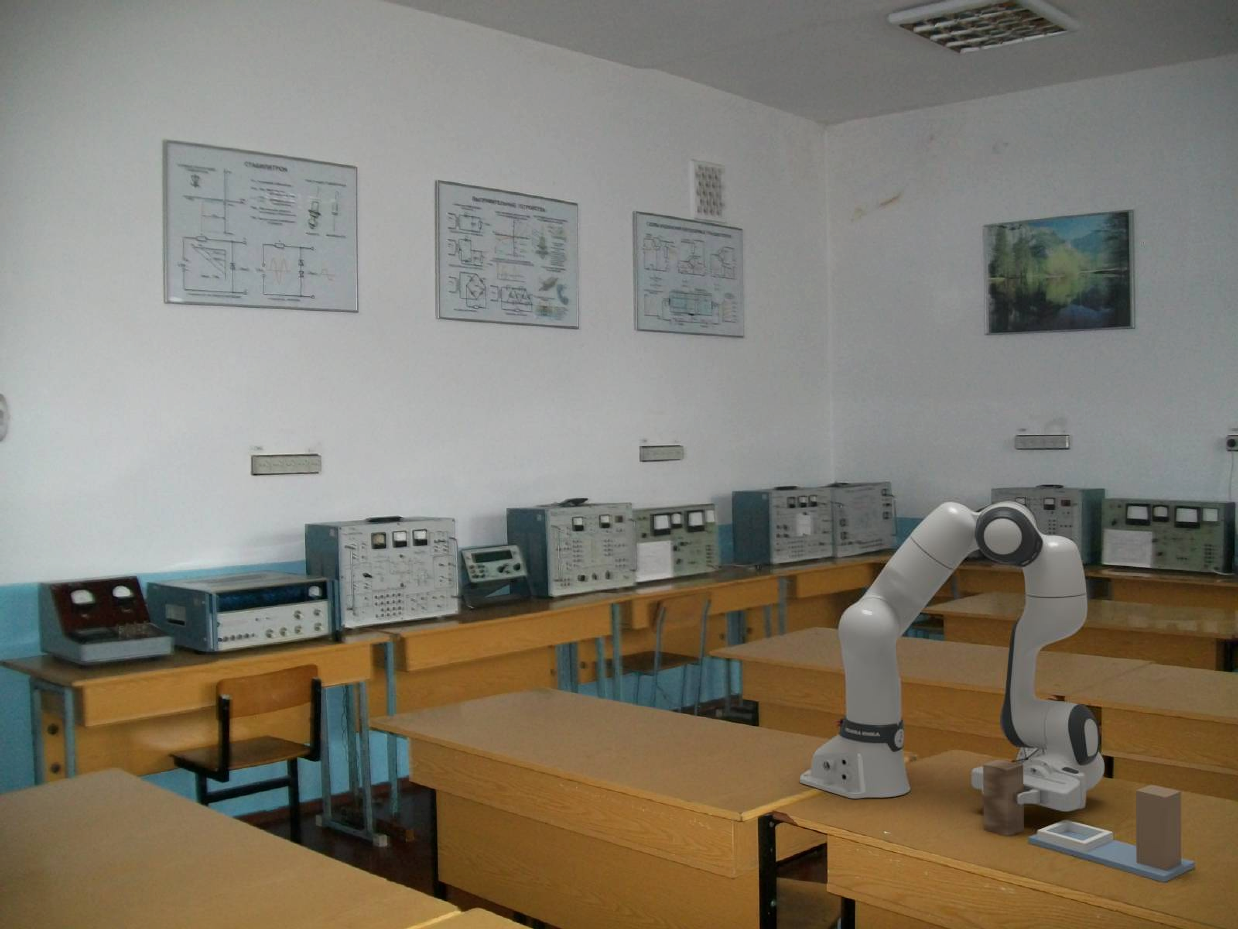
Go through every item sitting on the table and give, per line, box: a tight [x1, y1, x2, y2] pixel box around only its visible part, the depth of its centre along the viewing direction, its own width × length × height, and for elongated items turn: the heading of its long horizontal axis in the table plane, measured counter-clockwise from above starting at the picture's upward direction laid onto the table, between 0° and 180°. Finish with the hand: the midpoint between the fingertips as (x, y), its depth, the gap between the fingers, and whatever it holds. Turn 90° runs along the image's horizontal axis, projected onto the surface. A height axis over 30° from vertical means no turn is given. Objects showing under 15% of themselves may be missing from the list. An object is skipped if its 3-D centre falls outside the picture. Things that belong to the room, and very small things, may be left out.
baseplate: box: [1027, 784, 1196, 883], centre depth 204 cm, size 24×10×13 cm, turn 38°
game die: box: [1010, 747, 1047, 764], centre depth 250 cm, size 9×8×10 cm
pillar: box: [982, 758, 1025, 837], centre depth 217 cm, size 5×5×12 cm
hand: (1000, 795), depth 217 cm, fingers closed on pillar, 5 cm apart
